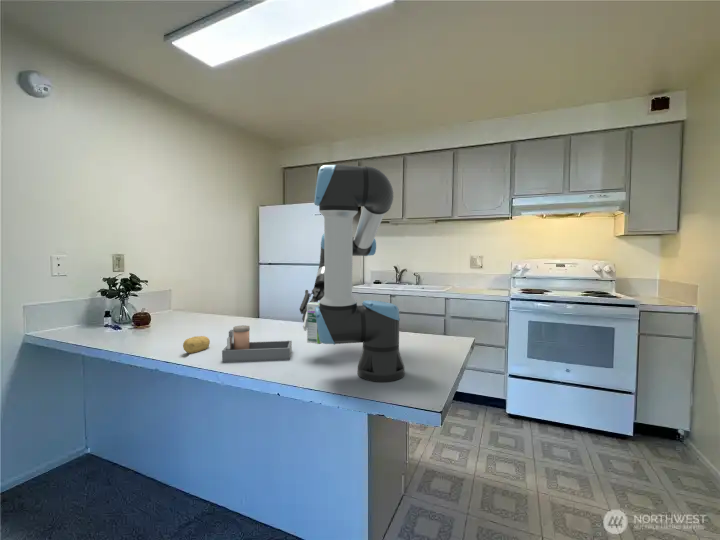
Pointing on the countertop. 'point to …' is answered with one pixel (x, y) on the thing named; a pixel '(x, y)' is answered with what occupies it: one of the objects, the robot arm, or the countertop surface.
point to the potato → (196, 344)
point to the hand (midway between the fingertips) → (315, 328)
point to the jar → (241, 337)
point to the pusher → (230, 340)
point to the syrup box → (312, 323)
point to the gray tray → (259, 352)
